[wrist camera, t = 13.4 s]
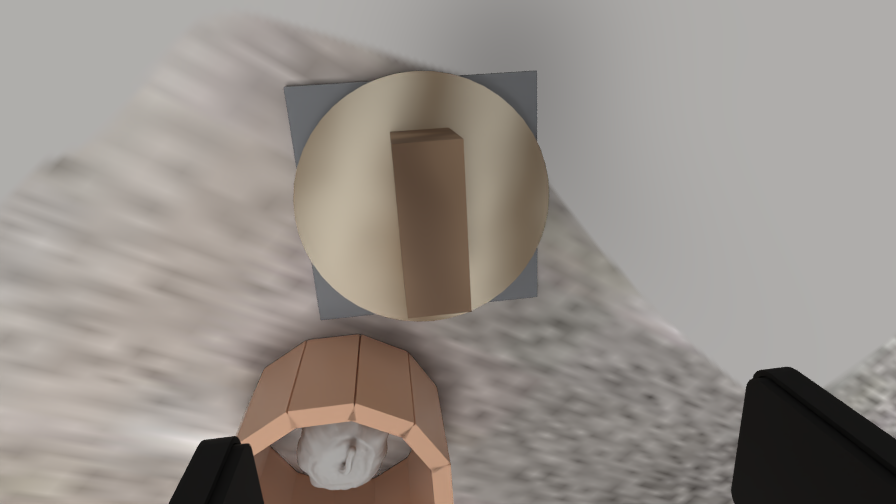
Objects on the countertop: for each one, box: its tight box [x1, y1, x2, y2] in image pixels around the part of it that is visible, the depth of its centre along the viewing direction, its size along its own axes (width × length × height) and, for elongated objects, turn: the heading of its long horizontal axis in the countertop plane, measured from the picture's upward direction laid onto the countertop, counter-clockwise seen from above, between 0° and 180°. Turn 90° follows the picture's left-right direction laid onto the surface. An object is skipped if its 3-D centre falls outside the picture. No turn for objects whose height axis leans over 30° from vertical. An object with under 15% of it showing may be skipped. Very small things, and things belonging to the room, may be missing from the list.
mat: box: [284, 71, 537, 320], centre depth 29 cm, size 13×13×1 cm
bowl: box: [236, 334, 453, 504], centre depth 30 cm, size 12×12×7 cm
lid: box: [293, 71, 549, 321], centre depth 25 cm, size 14×14×6 cm
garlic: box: [297, 421, 389, 490], centre depth 31 cm, size 6×5×5 cm
